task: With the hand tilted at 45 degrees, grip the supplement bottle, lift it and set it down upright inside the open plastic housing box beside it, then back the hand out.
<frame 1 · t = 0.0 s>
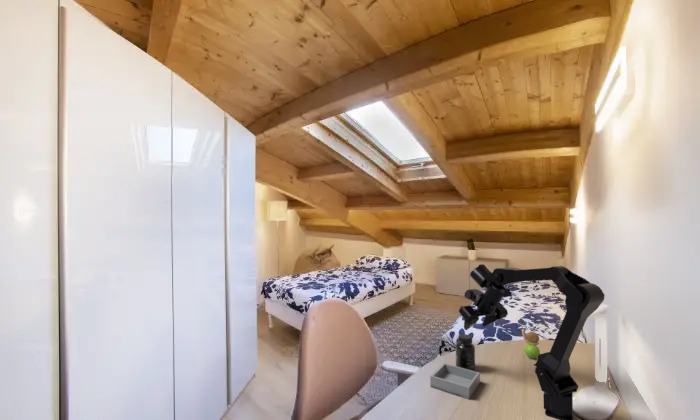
hand: (474, 327, 120), 15 cm above the table, tool tilted 35°, fingers open, 9 cm apart
housing box: (455, 385, 106), on the table
snail figurine: (530, 358, 128), on the table
supplement bottle: (465, 369, 118), on the table
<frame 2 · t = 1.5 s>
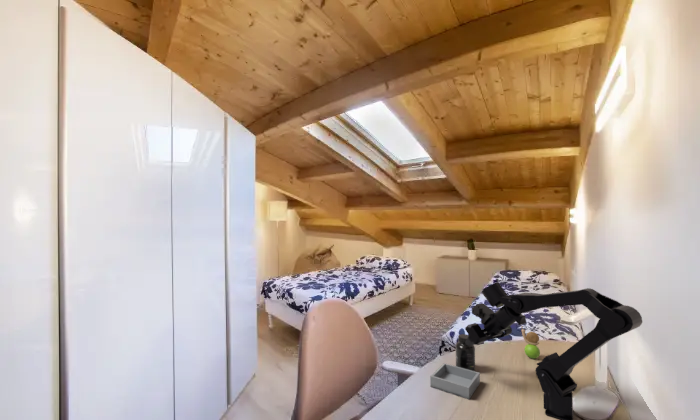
hand: (474, 341, 115), 11 cm above the table, tool tilted 45°, fingers open, 9 cm apart
nothing on the table moved.
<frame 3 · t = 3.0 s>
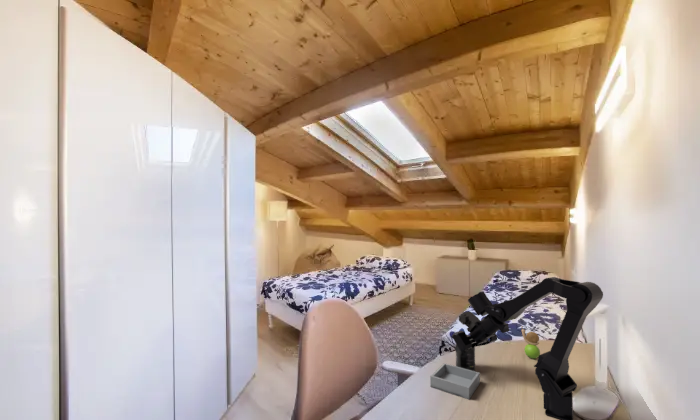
hand: (462, 348, 120), 7 cm above the table, tool tilted 45°, fingers closed on supplement bottle, 7 cm apart
supplement bottle: (465, 369, 118), on the table, touching gripper
everything else where it was.
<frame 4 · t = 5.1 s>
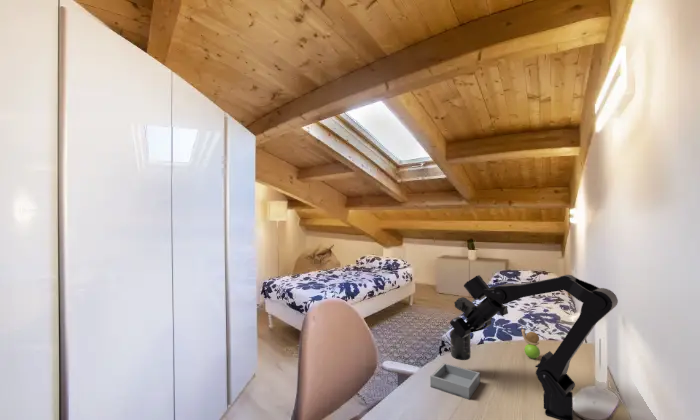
hand: (456, 335, 116), 13 cm above the table, tool tilted 45°, fingers closed on supplement bottle, 7 cm apart
supplement bottle: (460, 357, 114), point 6 cm above the table, touching gripper
everything else where it was.
when the fingers open (9 cm above the table, at t = 7.3 s): supplement bottle stays where it is, resting on housing box.
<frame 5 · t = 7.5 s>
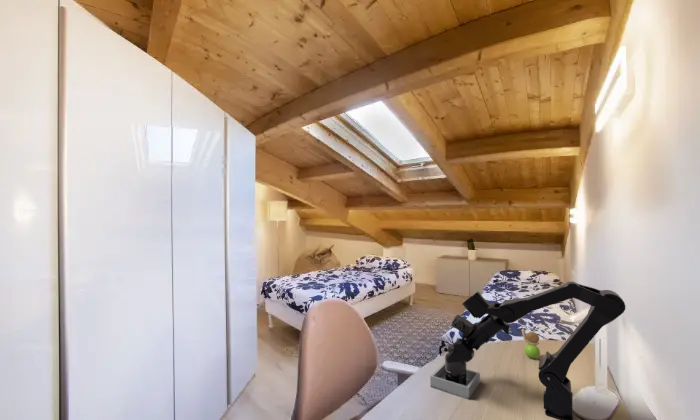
hand: (451, 356, 107), 9 cm above the table, tool tilted 45°, fingers open, 8 cm apart
supplement bottle: (456, 383, 106), resting on housing box
everything else where it was.
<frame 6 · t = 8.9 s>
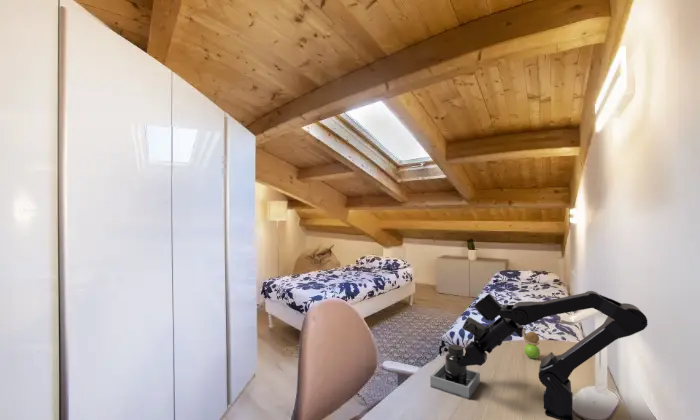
hand: (462, 360, 105), 9 cm above the table, tool tilted 45°, fingers open, 9 cm apart
nothing on the table moved.
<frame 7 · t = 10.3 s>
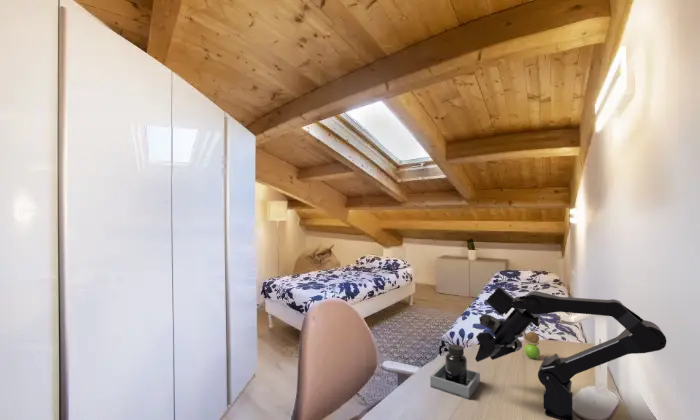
hand: (484, 359, 103), 10 cm above the table, tool tilted 35°, fingers open, 9 cm apart
nothing on the table moved.
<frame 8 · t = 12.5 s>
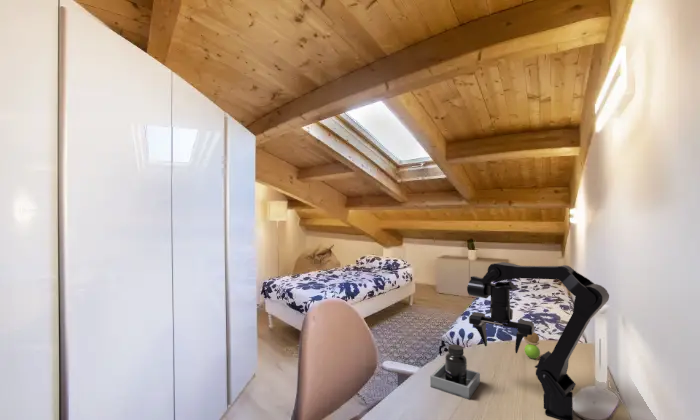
hand: (500, 349, 104), 13 cm above the table, tool pointing down, fingers open, 9 cm apart
nothing on the table moved.
at the end: supplement bottle 0.2 cm off-centre on the housing box, point 0.4 cm above the housing box's base; supplement bottle tilted 0°; the gripper is holding nothing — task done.
